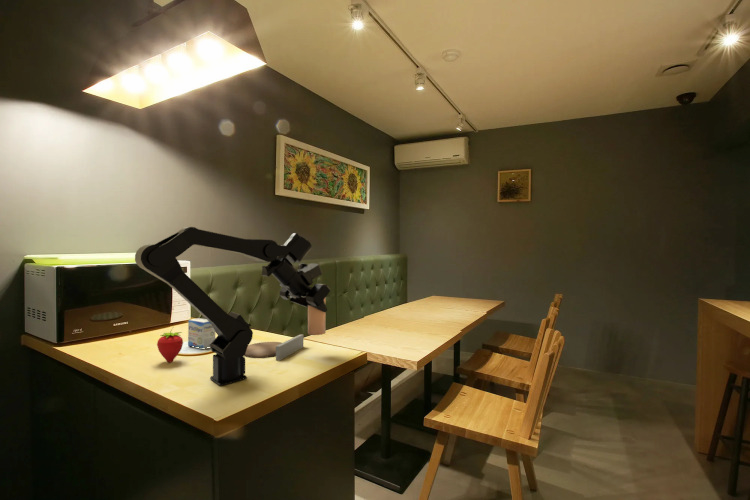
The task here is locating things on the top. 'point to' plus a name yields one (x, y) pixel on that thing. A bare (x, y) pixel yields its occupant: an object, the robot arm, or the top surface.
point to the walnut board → (262, 349)
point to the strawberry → (170, 345)
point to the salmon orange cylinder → (316, 321)
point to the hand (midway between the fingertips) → (320, 309)
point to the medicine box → (200, 333)
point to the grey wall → (289, 347)
